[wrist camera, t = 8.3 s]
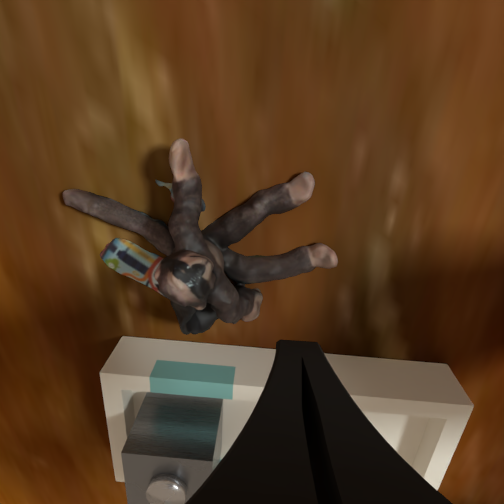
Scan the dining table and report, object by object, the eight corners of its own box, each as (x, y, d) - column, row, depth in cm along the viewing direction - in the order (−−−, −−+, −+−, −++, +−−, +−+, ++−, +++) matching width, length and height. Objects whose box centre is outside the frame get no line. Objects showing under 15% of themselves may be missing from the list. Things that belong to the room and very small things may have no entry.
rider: (223, 396, 23) (210, 472, 19) (221, 448, 25) (209, 528, 21) (147, 389, 23) (116, 463, 19) (152, 442, 25) (124, 520, 21)
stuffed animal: (345, 315, 22) (157, 424, 17) (259, 266, 30) (115, 330, 25) (327, 110, 17) (57, 177, 12) (231, 118, 25) (45, 160, 20)
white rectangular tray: (447, 363, 24) (474, 405, 21) (401, 488, 29) (417, 536, 26) (122, 336, 24) (99, 372, 21) (136, 462, 30) (119, 507, 26)
